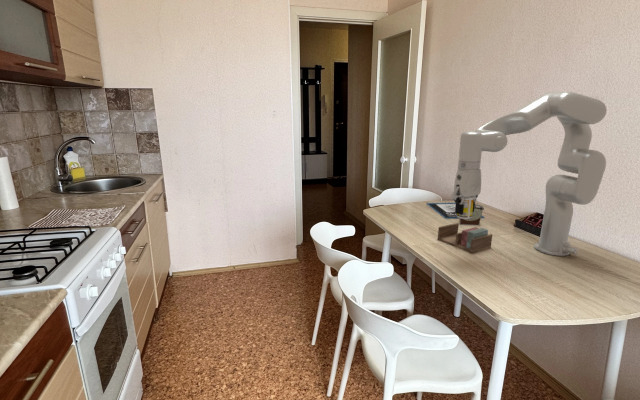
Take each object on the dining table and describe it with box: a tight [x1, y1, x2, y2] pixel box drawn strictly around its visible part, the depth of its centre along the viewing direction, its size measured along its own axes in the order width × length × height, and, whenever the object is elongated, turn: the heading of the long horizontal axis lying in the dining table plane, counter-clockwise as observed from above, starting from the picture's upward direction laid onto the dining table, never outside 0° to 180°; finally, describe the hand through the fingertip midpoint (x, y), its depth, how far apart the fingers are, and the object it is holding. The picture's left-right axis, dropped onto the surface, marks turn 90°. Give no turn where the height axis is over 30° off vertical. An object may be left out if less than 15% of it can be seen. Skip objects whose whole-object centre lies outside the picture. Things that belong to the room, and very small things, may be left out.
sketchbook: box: [425, 201, 485, 220], centre depth 202 cm, size 22×30×2 cm
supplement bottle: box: [457, 195, 474, 219], centre depth 133 cm, size 6×6×10 cm
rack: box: [437, 222, 493, 255], centre depth 151 cm, size 18×12×8 cm, turn 30°
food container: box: [459, 203, 485, 226], centre depth 179 cm, size 12×6×10 cm, turn 84°
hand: (464, 212), depth 133 cm, fingers closed on supplement bottle, 5 cm apart
